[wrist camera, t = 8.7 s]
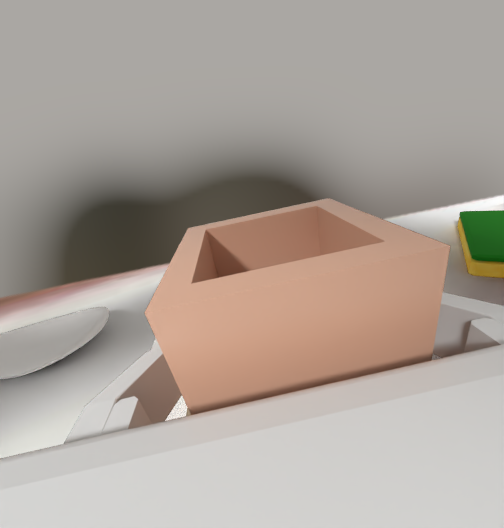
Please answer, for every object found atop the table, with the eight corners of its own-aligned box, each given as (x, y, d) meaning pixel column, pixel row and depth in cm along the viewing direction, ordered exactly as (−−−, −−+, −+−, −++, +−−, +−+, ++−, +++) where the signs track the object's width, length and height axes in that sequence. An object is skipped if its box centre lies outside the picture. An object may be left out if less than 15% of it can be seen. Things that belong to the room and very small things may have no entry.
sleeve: (247, 537, 9) (144, 313, 5) (238, 390, 14) (187, 228, 10) (408, 499, 9) (450, 245, 5) (337, 368, 14) (328, 198, 10)
